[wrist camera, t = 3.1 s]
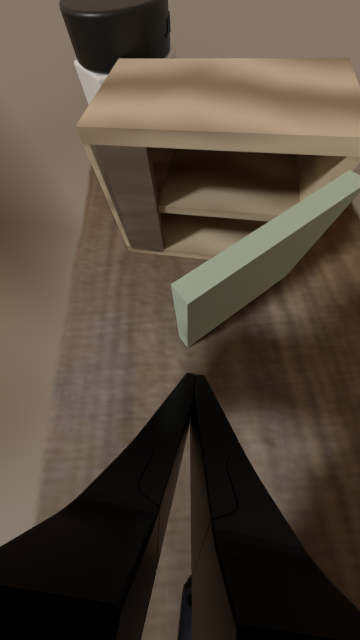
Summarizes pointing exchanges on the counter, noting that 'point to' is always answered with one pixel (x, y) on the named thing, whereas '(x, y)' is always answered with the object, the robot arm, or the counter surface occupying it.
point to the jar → (115, 35)
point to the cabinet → (217, 145)
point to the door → (257, 260)
